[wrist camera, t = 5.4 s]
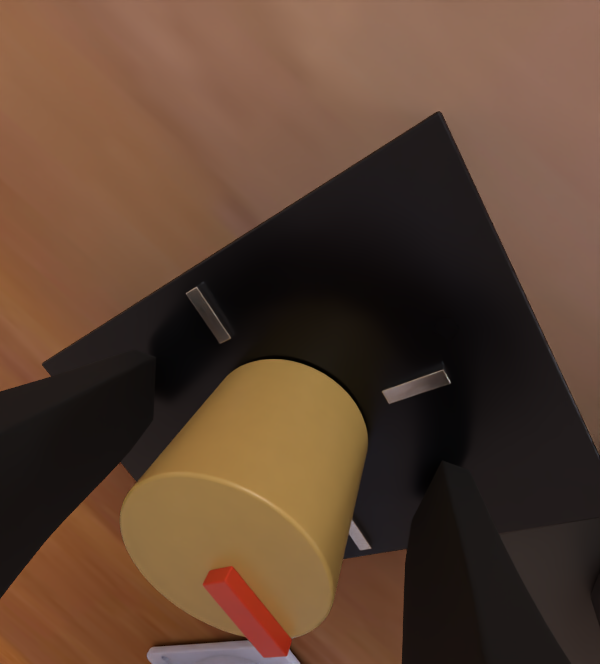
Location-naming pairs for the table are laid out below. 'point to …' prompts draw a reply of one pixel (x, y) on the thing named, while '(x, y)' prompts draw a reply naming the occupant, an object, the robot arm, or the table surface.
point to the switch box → (563, 582)
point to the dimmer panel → (379, 341)
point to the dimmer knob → (253, 504)
